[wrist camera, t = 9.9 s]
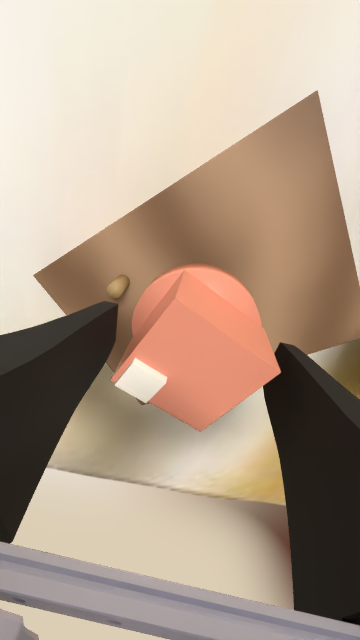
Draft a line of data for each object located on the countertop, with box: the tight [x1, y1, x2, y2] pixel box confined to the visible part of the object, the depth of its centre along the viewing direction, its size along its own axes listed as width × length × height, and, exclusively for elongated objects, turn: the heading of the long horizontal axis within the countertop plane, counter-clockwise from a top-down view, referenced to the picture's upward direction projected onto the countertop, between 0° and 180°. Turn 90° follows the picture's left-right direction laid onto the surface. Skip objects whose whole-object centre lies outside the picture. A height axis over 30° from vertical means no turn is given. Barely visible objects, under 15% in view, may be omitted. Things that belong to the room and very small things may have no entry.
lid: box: [111, 263, 281, 432], centre depth 10 cm, size 6×6×4 cm
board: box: [33, 90, 360, 405], centre depth 13 cm, size 16×12×2 cm
